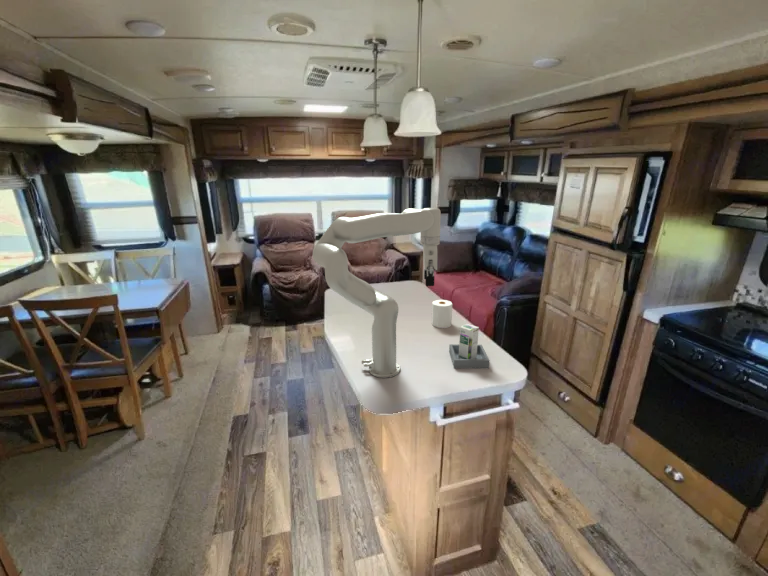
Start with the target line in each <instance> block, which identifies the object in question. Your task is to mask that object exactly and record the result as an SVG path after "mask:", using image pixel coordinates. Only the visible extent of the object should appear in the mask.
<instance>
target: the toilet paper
mask: <svg viewBox="0 0 768 576" xmlns="http://www.w3.org/2000/svg"><path fill="white" fill-rule="evenodd" d="M452 320H453V303H452V301H450V300H447V299H437V300H433V301H432V302H431V325H432V326H433V327H434V328H439V329H446V328H450V327H451V326H452V322H453V321H452Z"/></svg>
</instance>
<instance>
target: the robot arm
mask: <svg viewBox="0 0 768 576" xmlns="http://www.w3.org/2000/svg"><path fill="white" fill-rule="evenodd" d="M441 214H442V213H441V210H440V208H438V207H424V208H414V207H413V208H412V207H411V208H410V207H409V208H406V209H404V210H403V211H402V212H401V213H392V212H380V213H379V212H378V213H373V214H367V215H362V216H355V217H347V216H339V217H337V218H336V219H335V220H334V221H332V223H331V224H330V225H329V227H328V228H327V229H326V231H325V232H324V233H323V234H322V236H321V237H320V238H319V240H318V241H317V243H316V244H315V246H314V248H313V250H312V260H313V261H314V262H315V263H316V264H317V265H319V267H322V268H323V269H324V276H325V277H324V278H325V281H326V283H327V286H328V287H329V288H330V289H331V290H332V291H334V292H335V294H338V295H339V296H341V297H343V299H345V300H346V301H347V302H349V303H350V304H352V305H354V306H357V307H358V308H360V309H362V310H364V312H367V313H369V314H370V315H371V316H373V322H372V325H371V349H372V351H371V353H372V357H371V358H369V359H365V358H363V359H361V365H363V366H364V367H368V371H369V373H370V375H372V376H374V377H377V378H382V379H383V378H392V377H395V376H397V375H398V374H399V373H400V372H401V366H400V364H399V363H398V362H397V321H398V316H399V304H398V303H397V301H396V299H394V298H393V297H392V296H390V295H388V294H386V293H383V292H382V291H379V290H378V289H376V288H374V287H373V286H372V285H371V284H370V283H369V282H367V281H365V280H364V279H361V278H359V277H357V276H356V275H355V274H353V273H352V272H350V271H349V266H348V265H349V263H348V262H349V260H348V255H347V253H346V252H345V250H344V248H343V249H342V247H343V246H344V244H345V243H349V244H357V243H363V242H368V241H372V240H376V239H382V238H386V237H388V238H389V237H390V238H391V237H397V236H406V235H409V236H410V235H414V234H419V233H420V239H419V241H420V245H422V247H423V248H422V249H423V254H422V258H423V259H422V260H423V267H424V271H423V272H424V275H423V276H424V277H423V278H424V280H425V286H426V287H434V286H435V271H438V245H440V239H441ZM364 367H363V368H364Z"/></svg>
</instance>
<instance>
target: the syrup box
mask: <svg viewBox="0 0 768 576" xmlns="http://www.w3.org/2000/svg"><path fill="white" fill-rule="evenodd" d="M479 329H480V327H479V326H475V325H472V324H469V323H465V324H462V325H461V326H460V327H459V342H458V343H459V344H458V345H459V355H458V358H459V359H476V358H477V345H479V342H478V341H479Z"/></svg>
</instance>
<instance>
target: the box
mask: <svg viewBox="0 0 768 576" xmlns="http://www.w3.org/2000/svg"><path fill="white" fill-rule="evenodd" d="M448 347H449V351H448V352H449V356H450V359H451V363H452V366H453V368H454V369H489V368H490V359H489V357H488V355H487V352H486V351H485V349H484V347H483V345H482V344H478V345H477V358H476V359H459V358H458V355H459V344H449V346H448Z"/></svg>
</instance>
